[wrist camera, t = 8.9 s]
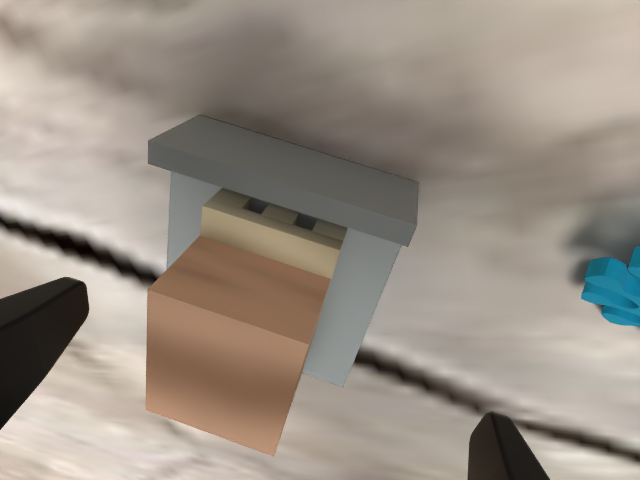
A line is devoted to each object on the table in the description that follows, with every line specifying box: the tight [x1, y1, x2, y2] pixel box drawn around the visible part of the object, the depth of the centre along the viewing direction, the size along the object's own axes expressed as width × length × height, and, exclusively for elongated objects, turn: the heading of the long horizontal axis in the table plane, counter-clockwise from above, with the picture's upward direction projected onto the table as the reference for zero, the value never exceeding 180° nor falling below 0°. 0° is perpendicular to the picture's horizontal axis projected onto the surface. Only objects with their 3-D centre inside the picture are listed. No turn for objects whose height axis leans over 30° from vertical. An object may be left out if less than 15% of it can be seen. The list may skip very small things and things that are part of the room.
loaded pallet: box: [146, 188, 348, 456], centre depth 19 cm, size 10×6×6 cm, turn 166°
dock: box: [148, 115, 419, 387], centre depth 21 cm, size 12×11×4 cm
